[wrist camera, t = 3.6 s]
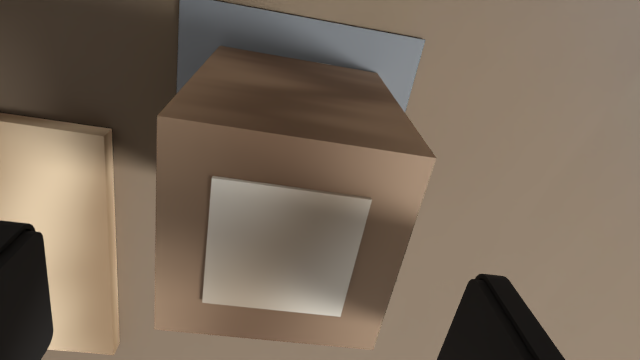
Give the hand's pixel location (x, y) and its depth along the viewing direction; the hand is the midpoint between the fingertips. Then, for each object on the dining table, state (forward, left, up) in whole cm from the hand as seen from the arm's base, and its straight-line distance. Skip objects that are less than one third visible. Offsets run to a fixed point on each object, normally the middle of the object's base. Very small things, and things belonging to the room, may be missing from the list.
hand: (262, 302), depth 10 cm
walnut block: (0, -1, -9) cm, 9 cm away
